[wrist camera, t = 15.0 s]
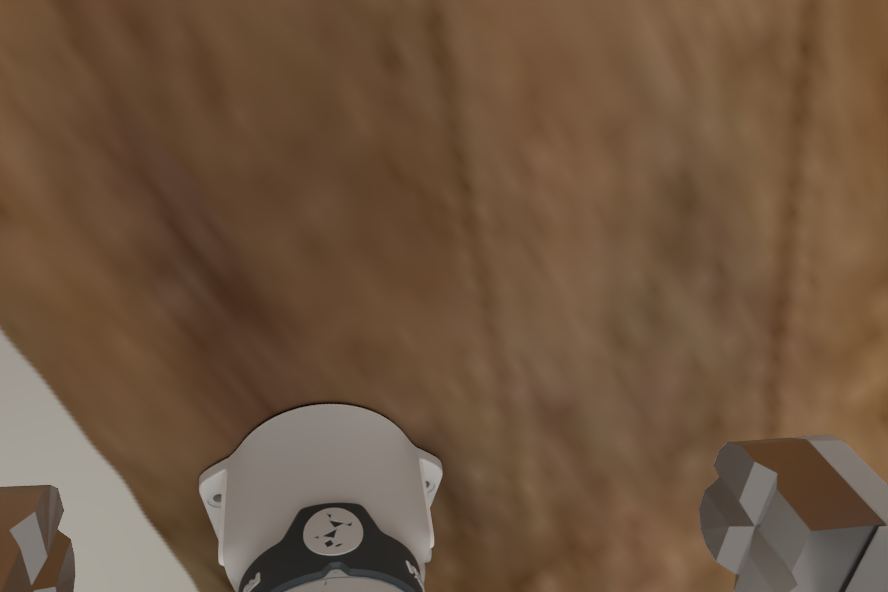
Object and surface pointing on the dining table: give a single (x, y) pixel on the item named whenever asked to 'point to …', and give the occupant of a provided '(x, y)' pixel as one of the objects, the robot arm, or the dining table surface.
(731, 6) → the dining table surface
